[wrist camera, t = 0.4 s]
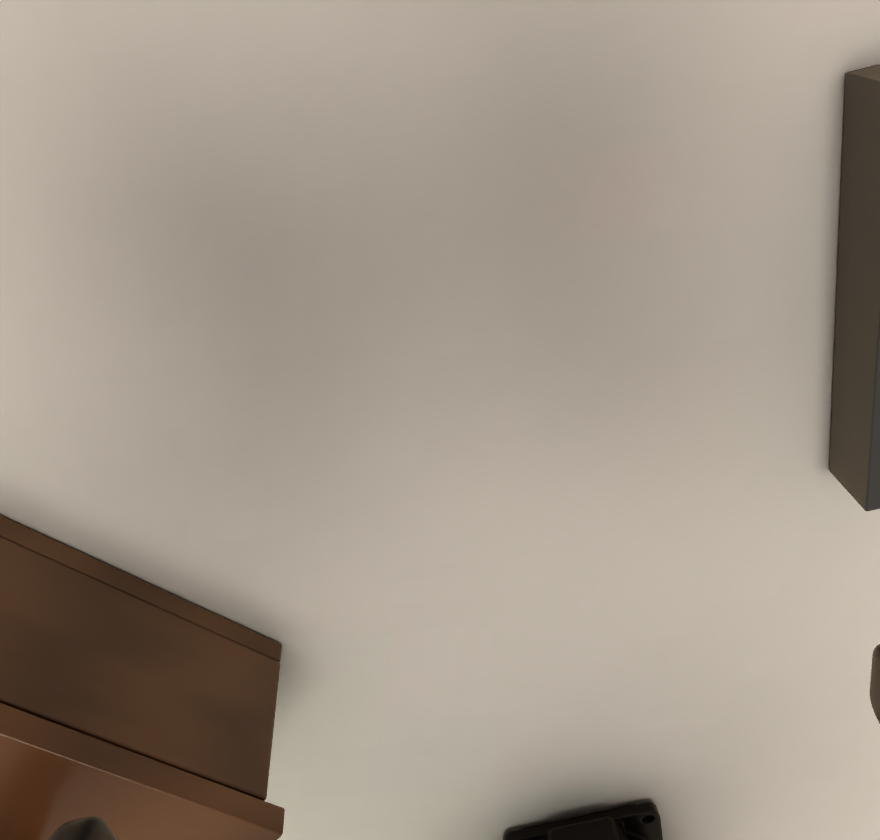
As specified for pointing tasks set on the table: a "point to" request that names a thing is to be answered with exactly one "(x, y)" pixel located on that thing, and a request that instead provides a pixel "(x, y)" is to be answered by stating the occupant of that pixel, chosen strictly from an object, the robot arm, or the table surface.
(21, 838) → the lid
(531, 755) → the table surface
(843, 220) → the control block
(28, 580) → the open wooden crate
